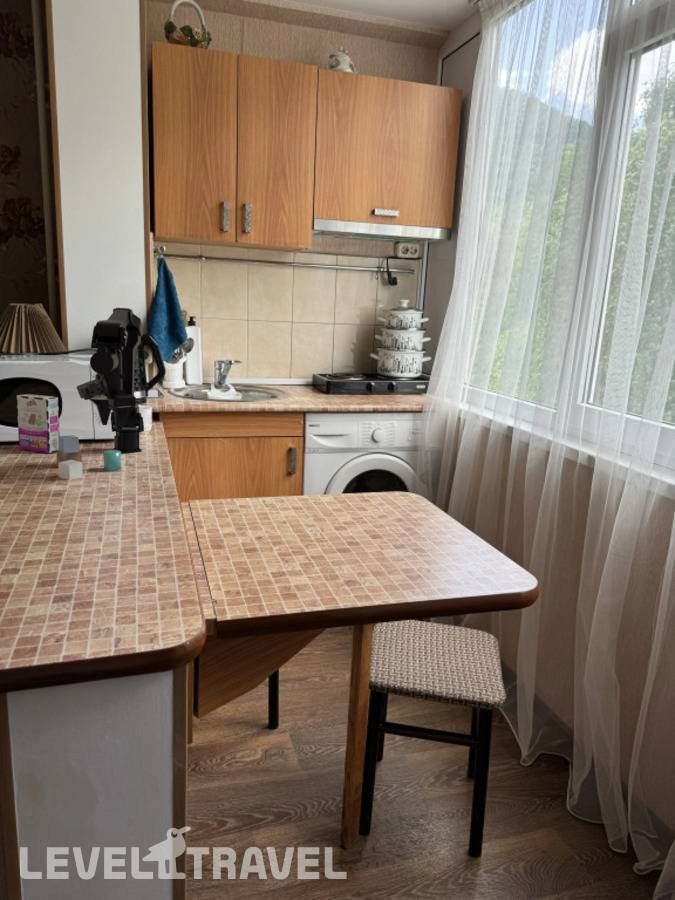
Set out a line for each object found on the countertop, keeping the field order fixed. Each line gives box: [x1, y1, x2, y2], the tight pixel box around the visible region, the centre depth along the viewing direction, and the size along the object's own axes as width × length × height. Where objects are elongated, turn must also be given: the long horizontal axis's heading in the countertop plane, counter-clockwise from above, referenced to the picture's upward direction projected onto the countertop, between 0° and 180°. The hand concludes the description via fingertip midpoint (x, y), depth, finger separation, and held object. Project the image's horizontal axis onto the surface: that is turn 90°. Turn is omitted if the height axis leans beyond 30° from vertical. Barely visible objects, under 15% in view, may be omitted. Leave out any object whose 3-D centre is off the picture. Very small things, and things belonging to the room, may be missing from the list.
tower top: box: [58, 434, 80, 453], centre depth 176 cm, size 4×4×4 cm
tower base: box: [55, 450, 83, 466], centre depth 177 cm, size 5×5×4 cm
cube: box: [57, 460, 83, 481], centre depth 166 cm, size 4×4×4 cm
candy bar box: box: [16, 393, 61, 454], centre depth 190 cm, size 11×5×16 cm, turn 73°
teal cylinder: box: [103, 449, 122, 473], centre depth 175 cm, size 4×4×5 cm
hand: (111, 428), depth 173 cm, fingers open, 9 cm apart
